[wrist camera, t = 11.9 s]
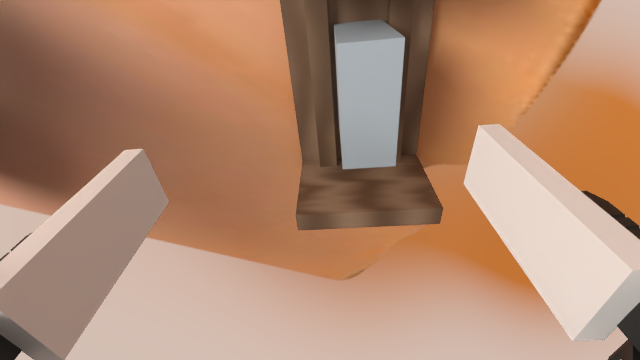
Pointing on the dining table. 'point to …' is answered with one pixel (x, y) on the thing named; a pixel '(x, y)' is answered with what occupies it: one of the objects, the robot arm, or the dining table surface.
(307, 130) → the track base
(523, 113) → the dining table surface
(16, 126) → the dining table surface
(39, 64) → the dining table surface
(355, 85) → the plain grey rectangular block
